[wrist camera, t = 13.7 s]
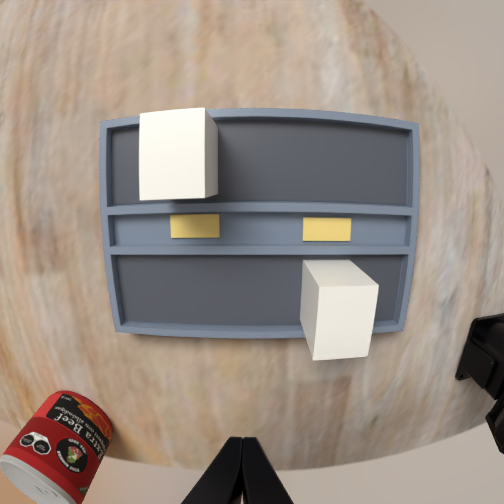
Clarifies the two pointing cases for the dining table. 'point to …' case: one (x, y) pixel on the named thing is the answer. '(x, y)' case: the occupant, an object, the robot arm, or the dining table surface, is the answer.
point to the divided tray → (261, 223)
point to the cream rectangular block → (178, 154)
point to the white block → (337, 309)
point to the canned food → (58, 450)
